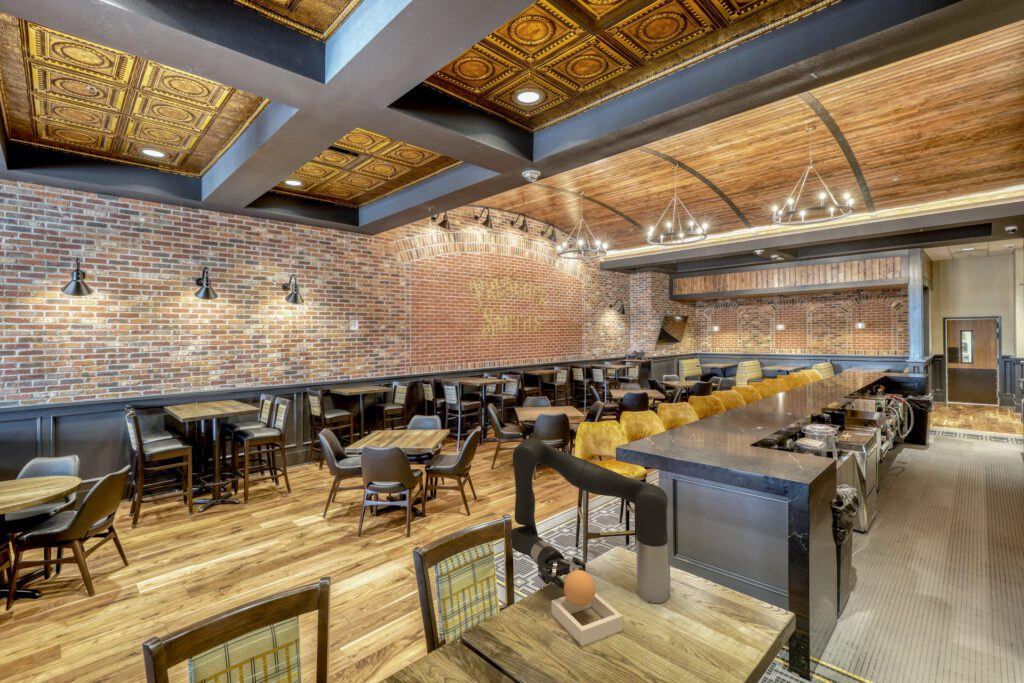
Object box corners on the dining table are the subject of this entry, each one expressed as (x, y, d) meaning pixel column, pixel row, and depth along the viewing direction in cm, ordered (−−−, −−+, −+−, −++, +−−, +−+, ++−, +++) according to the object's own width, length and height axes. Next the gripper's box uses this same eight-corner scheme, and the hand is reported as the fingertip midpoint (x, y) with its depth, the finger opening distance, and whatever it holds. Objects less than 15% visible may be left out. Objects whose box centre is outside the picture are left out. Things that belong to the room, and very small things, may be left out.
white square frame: (589, 601, 136) (589, 588, 136) (622, 630, 123) (622, 615, 123) (551, 614, 130) (551, 600, 130) (582, 646, 117) (581, 631, 117)
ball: (582, 589, 136) (583, 560, 135) (601, 607, 128) (602, 577, 127) (557, 597, 132) (558, 568, 131) (575, 617, 124) (576, 586, 123)
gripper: (527, 550, 142) (554, 575, 128) (565, 541, 149) (595, 563, 134) (527, 574, 142) (554, 601, 128) (565, 563, 149) (595, 588, 134)
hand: (575, 581), depth 131 cm, fingers open, 8 cm apart
